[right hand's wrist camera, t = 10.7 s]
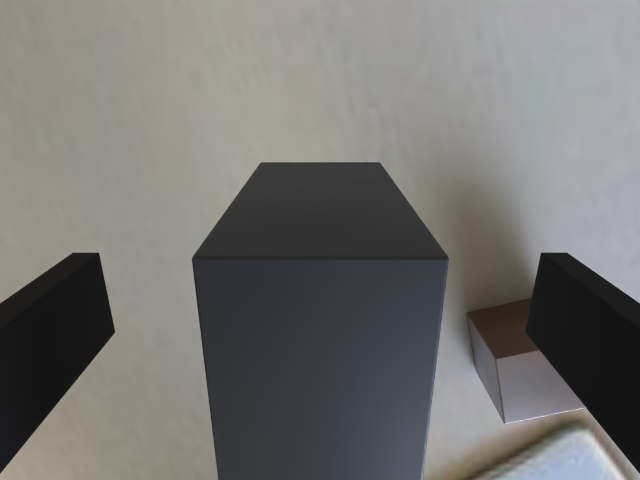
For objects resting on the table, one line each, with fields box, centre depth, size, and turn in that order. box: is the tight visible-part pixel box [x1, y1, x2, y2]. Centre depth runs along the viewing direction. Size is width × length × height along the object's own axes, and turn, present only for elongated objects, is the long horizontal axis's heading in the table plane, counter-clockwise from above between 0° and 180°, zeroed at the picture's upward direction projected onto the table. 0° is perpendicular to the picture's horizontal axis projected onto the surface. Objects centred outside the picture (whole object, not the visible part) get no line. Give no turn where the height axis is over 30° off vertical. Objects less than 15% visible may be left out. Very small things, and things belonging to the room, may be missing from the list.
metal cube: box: [467, 299, 586, 424], centre depth 27 cm, size 5×5×5 cm
